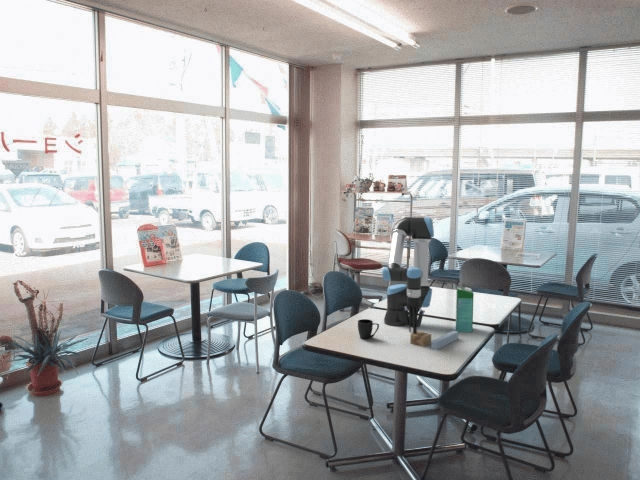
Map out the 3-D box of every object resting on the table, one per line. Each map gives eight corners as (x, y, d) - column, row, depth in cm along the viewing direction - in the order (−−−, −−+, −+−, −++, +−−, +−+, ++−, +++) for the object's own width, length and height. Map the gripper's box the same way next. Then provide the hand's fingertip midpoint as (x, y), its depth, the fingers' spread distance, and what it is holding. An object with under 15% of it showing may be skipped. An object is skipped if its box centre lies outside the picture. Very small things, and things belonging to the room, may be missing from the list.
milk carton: (472, 332, 310) (473, 289, 307) (456, 331, 312) (457, 288, 308) (471, 327, 319) (472, 286, 315) (455, 326, 320) (456, 285, 317)
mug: (375, 341, 294) (375, 324, 293) (355, 338, 299) (355, 322, 298) (381, 337, 301) (381, 321, 300) (361, 334, 307) (361, 318, 305)
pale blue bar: (431, 348, 282) (431, 341, 282) (453, 337, 300) (453, 330, 300) (436, 349, 280) (436, 342, 280) (458, 338, 298) (458, 331, 298)
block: (410, 343, 291) (410, 334, 290) (418, 340, 297) (418, 331, 296) (423, 346, 285) (423, 337, 285) (431, 343, 291) (431, 334, 291)
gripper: (399, 295, 292) (399, 338, 295) (420, 299, 284) (419, 342, 287) (407, 293, 298) (406, 334, 301) (427, 296, 289) (427, 339, 292)
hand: (412, 338), depth 294 cm, fingers closed
